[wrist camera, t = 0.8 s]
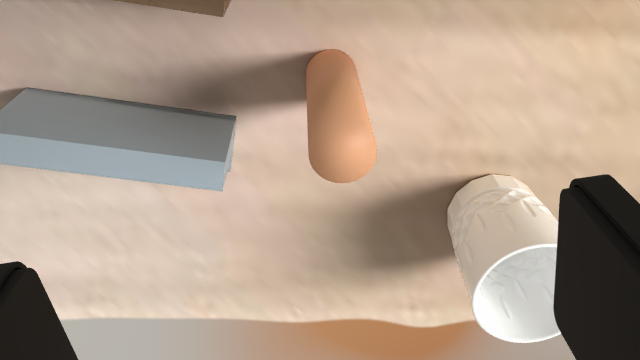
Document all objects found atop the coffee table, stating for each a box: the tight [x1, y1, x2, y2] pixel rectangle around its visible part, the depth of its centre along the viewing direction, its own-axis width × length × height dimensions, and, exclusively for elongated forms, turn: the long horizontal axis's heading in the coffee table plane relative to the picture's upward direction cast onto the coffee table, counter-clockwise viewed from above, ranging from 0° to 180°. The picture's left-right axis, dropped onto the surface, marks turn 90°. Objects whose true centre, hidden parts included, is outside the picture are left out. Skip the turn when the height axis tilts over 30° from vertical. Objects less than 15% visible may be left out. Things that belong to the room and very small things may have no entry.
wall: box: [0, 88, 236, 191], centre depth 38 cm, size 4×14×7 cm, turn 81°
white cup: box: [447, 174, 561, 343], centre depth 41 cm, size 8×8×10 cm
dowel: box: [306, 49, 377, 183], centre depth 34 cm, size 3×3×12 cm
